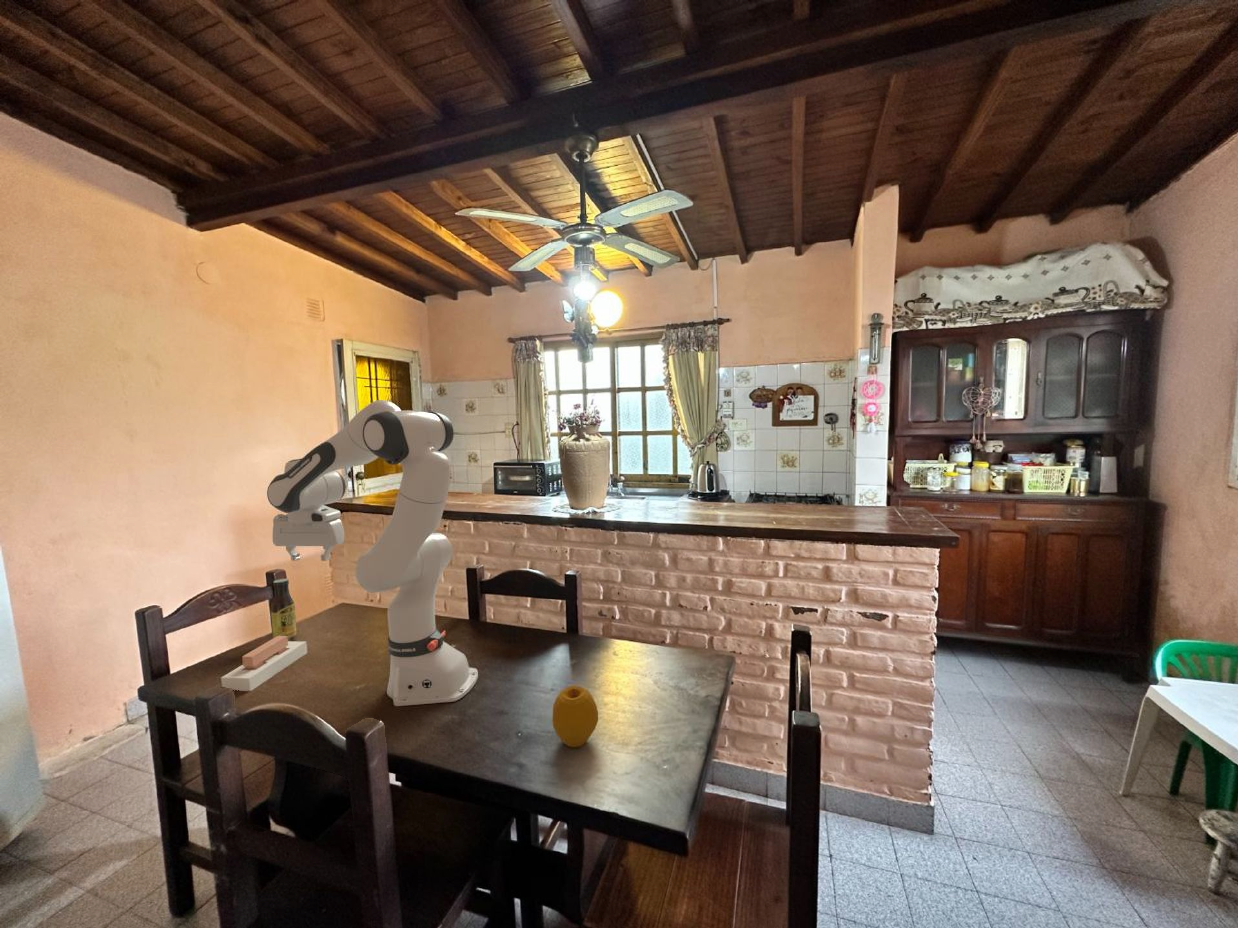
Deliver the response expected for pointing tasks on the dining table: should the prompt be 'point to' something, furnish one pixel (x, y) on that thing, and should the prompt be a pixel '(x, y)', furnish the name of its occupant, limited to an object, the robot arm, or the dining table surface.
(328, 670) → the dining table surface
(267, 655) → the prong clip
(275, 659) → the slot rail
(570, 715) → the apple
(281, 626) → the sauce bottle
